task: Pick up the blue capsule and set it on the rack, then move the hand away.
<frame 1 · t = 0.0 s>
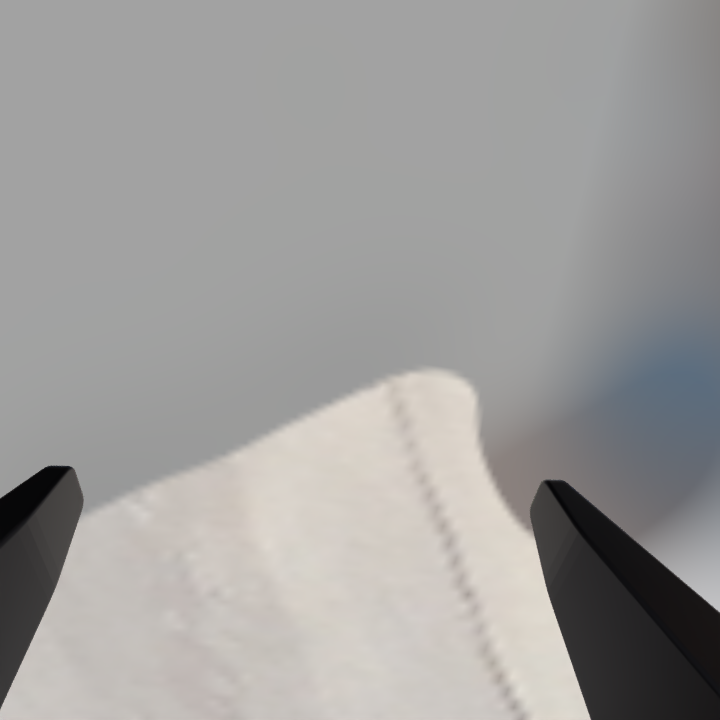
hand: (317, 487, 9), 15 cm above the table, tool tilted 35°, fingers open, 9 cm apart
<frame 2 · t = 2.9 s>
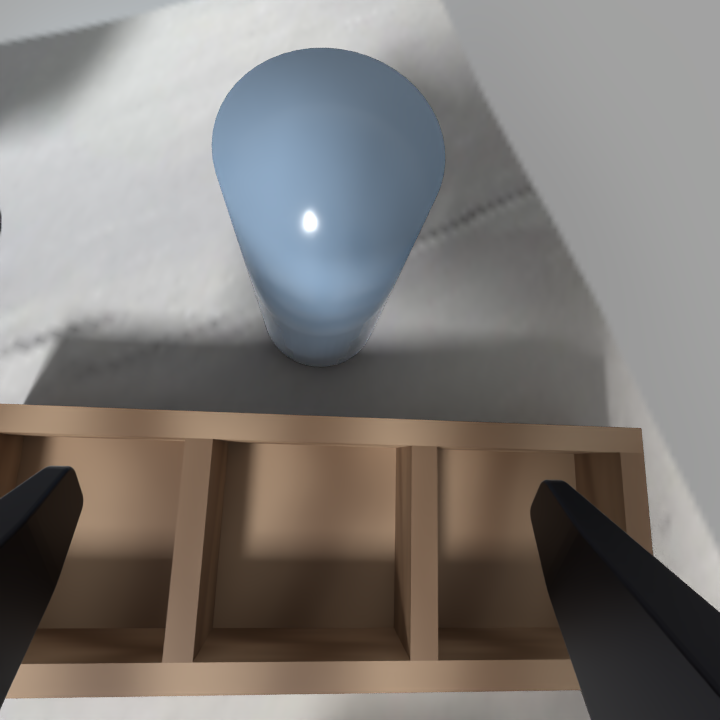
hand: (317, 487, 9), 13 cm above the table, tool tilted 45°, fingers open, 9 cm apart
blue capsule: (320, 312, 24), on the table
rack: (309, 530, 22), on the table
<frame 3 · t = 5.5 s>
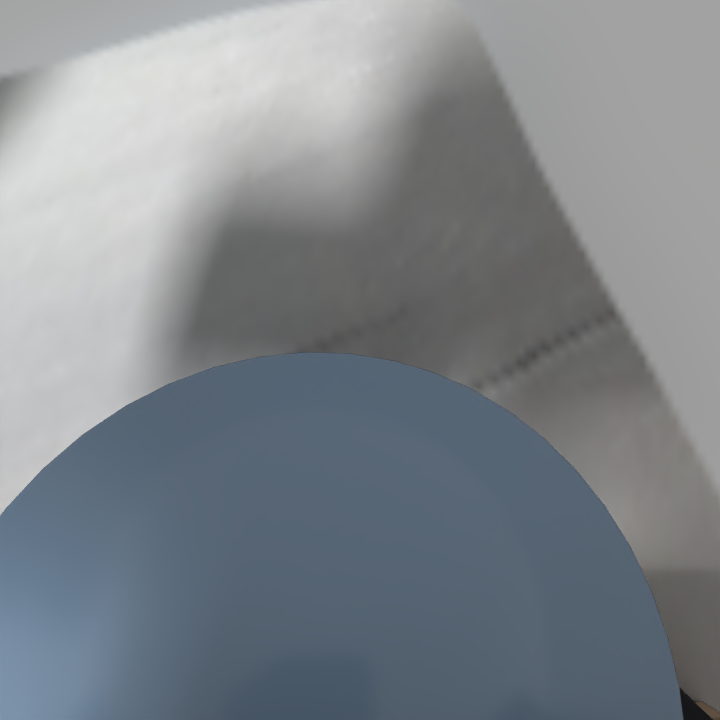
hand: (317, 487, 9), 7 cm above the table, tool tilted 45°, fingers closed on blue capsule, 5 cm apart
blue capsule: (312, 519, 16), on the table, touching gripper
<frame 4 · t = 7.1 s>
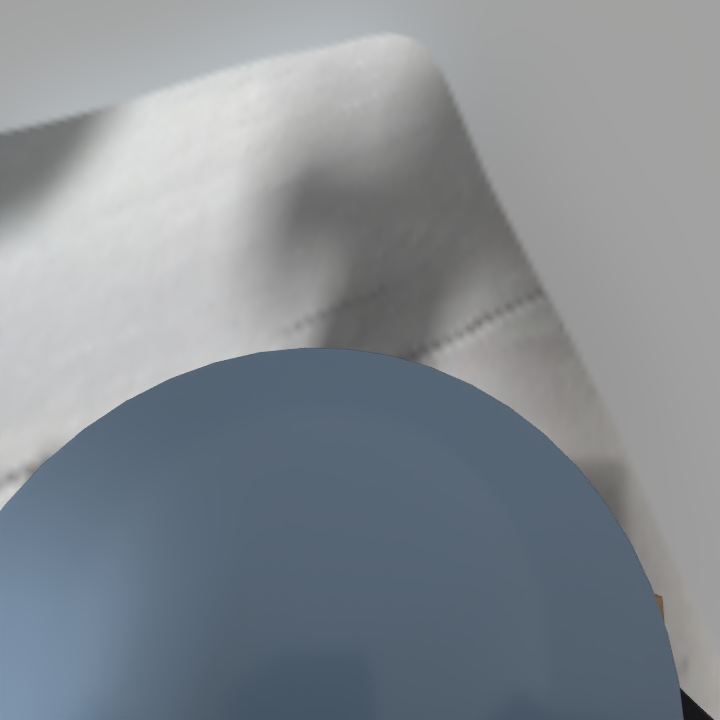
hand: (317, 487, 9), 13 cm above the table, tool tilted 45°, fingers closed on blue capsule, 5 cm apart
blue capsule: (312, 518, 16), point 6 cm above the table, touching gripper
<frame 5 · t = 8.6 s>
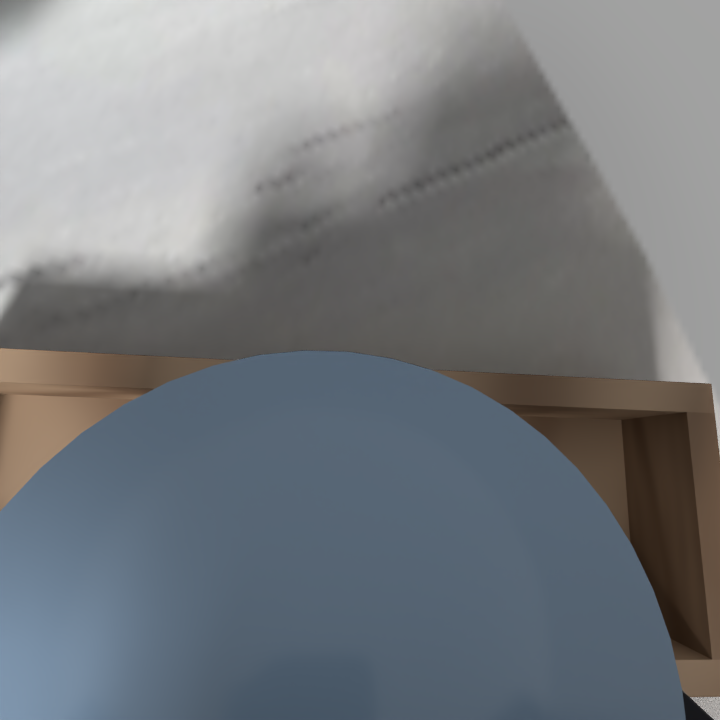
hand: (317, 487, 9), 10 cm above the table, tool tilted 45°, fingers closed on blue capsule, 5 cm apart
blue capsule: (312, 519, 16), point 3 cm above the table, touching gripper
rack: (312, 506, 19), on the table
when the fingers open (9 cm above the table, at t = 9.1 s): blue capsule drops 1 cm, resting on rack.
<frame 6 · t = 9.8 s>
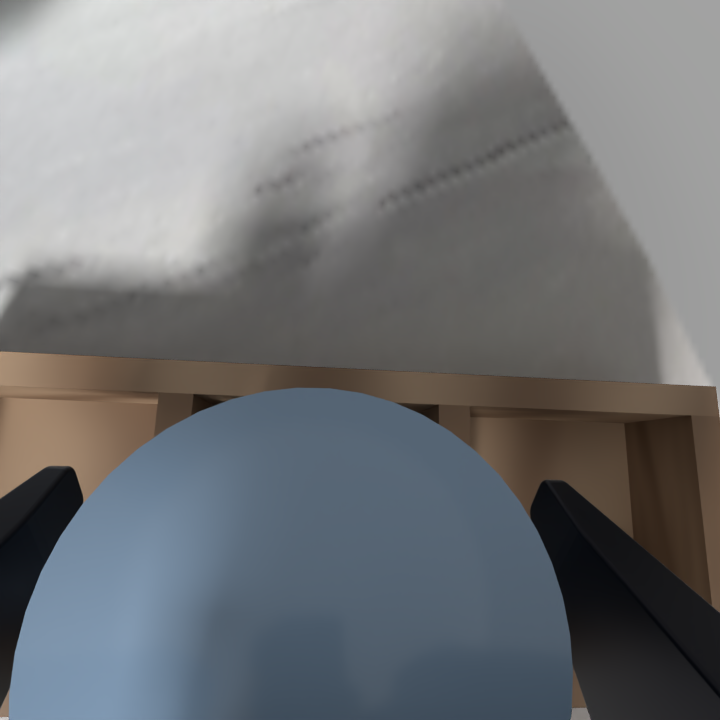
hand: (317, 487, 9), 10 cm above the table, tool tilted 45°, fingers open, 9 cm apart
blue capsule: (309, 517, 17), point 1 cm above the table, touching rack
rack: (312, 511, 18), on the table
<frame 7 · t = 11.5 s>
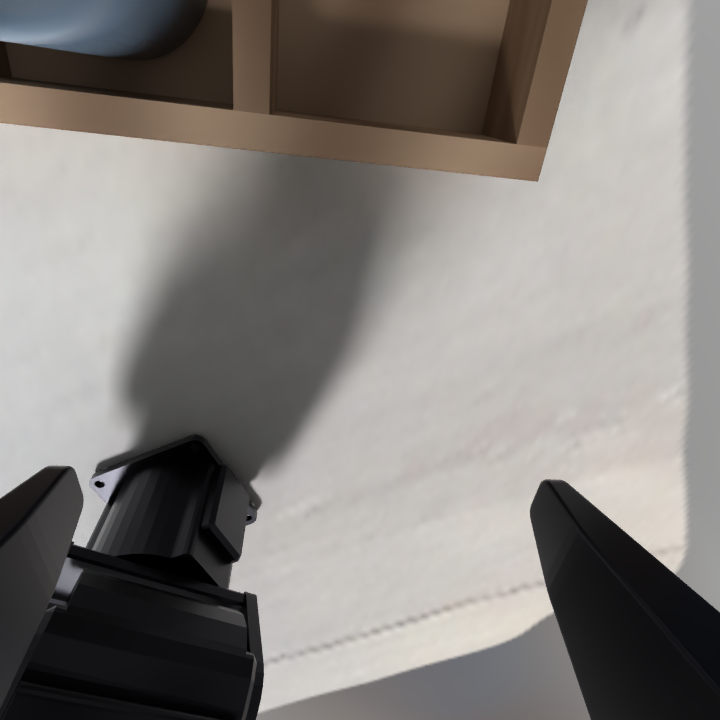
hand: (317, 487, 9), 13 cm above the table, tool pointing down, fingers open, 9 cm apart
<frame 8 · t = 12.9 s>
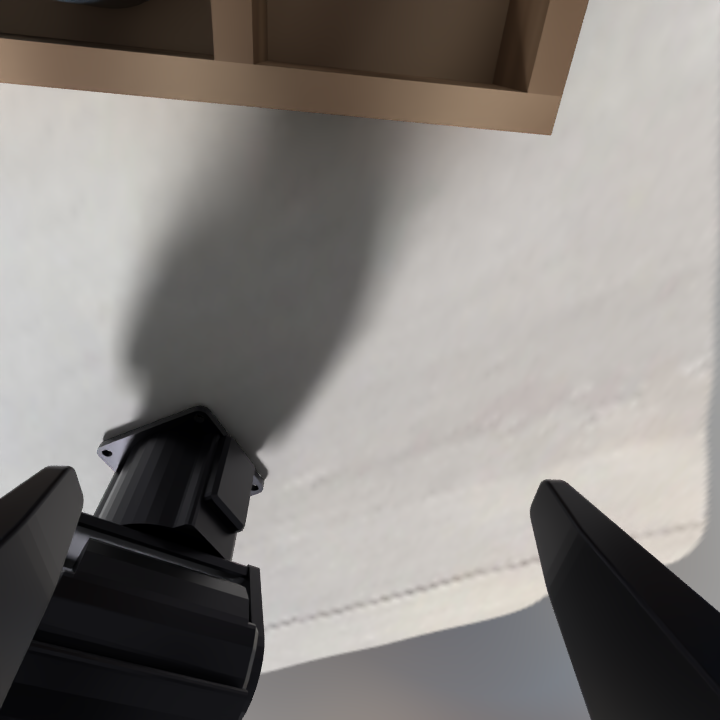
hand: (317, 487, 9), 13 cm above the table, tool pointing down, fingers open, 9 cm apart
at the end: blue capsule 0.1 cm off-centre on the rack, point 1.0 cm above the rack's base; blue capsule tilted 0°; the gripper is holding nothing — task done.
